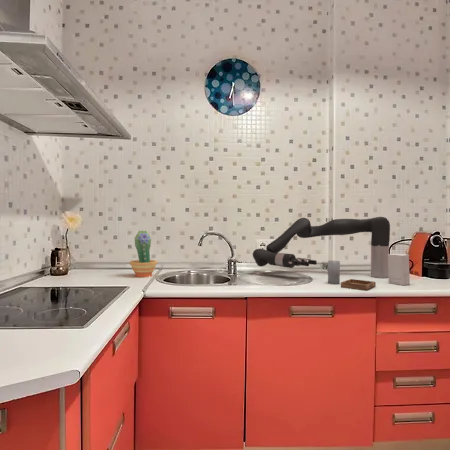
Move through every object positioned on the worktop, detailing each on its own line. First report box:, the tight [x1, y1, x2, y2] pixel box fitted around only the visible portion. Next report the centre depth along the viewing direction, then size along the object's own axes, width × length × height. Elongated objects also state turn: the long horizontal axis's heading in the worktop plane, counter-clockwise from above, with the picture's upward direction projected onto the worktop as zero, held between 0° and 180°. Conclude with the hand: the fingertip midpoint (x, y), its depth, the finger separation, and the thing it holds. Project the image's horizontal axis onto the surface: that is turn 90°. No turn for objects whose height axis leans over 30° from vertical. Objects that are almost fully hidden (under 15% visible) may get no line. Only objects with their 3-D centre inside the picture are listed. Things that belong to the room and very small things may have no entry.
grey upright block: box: [327, 260, 341, 285], centre depth 185 cm, size 6×6×11 cm
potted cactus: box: [128, 230, 159, 278], centre depth 205 cm, size 15×15×25 cm
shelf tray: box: [340, 278, 377, 292], centre depth 176 cm, size 12×12×2 cm
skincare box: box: [387, 253, 411, 286], centre depth 185 cm, size 8×6×15 cm
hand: (312, 263), depth 192 cm, fingers open, 8 cm apart
